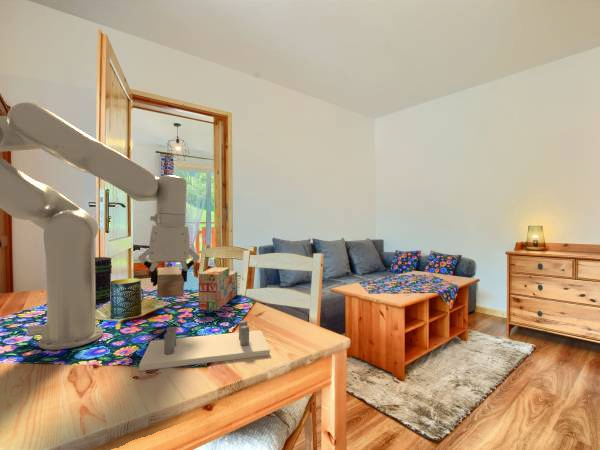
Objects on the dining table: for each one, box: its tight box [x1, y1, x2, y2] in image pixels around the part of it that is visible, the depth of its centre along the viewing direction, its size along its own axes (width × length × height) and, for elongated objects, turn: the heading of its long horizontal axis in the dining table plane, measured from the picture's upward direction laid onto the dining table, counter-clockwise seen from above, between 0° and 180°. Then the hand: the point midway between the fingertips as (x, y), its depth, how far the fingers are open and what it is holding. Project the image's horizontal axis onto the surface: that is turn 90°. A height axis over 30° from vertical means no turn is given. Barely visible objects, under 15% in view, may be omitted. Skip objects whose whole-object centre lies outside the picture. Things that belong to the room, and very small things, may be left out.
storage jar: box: [95, 256, 113, 304], centre depth 109 cm, size 10×10×15 cm
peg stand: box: [138, 320, 271, 372], centre depth 69 cm, size 26×12×5 cm, turn 106°
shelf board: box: [156, 266, 185, 299], centre depth 84 cm, size 6×22×4 cm, turn 25°
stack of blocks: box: [198, 266, 238, 312], centre depth 109 cm, size 21×6×12 cm, turn 174°
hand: (169, 284), depth 85 cm, fingers closed on shelf board, 6 cm apart
